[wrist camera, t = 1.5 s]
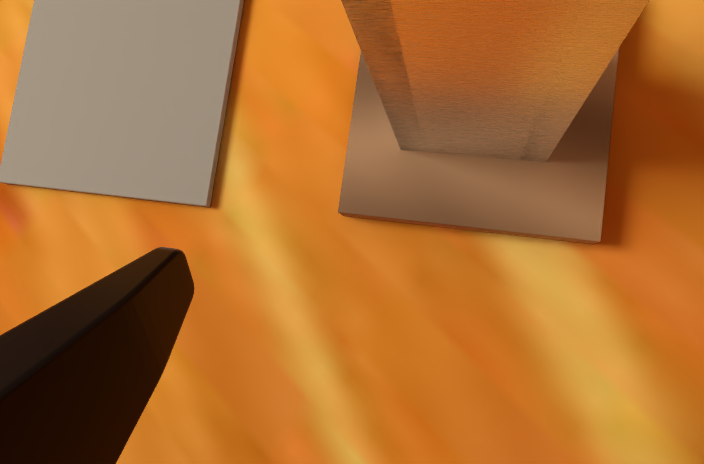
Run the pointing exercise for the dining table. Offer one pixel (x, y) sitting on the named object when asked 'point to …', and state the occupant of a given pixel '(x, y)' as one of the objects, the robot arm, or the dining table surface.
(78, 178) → the slate mat
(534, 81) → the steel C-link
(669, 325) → the dining table surface
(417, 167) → the walnut stand
